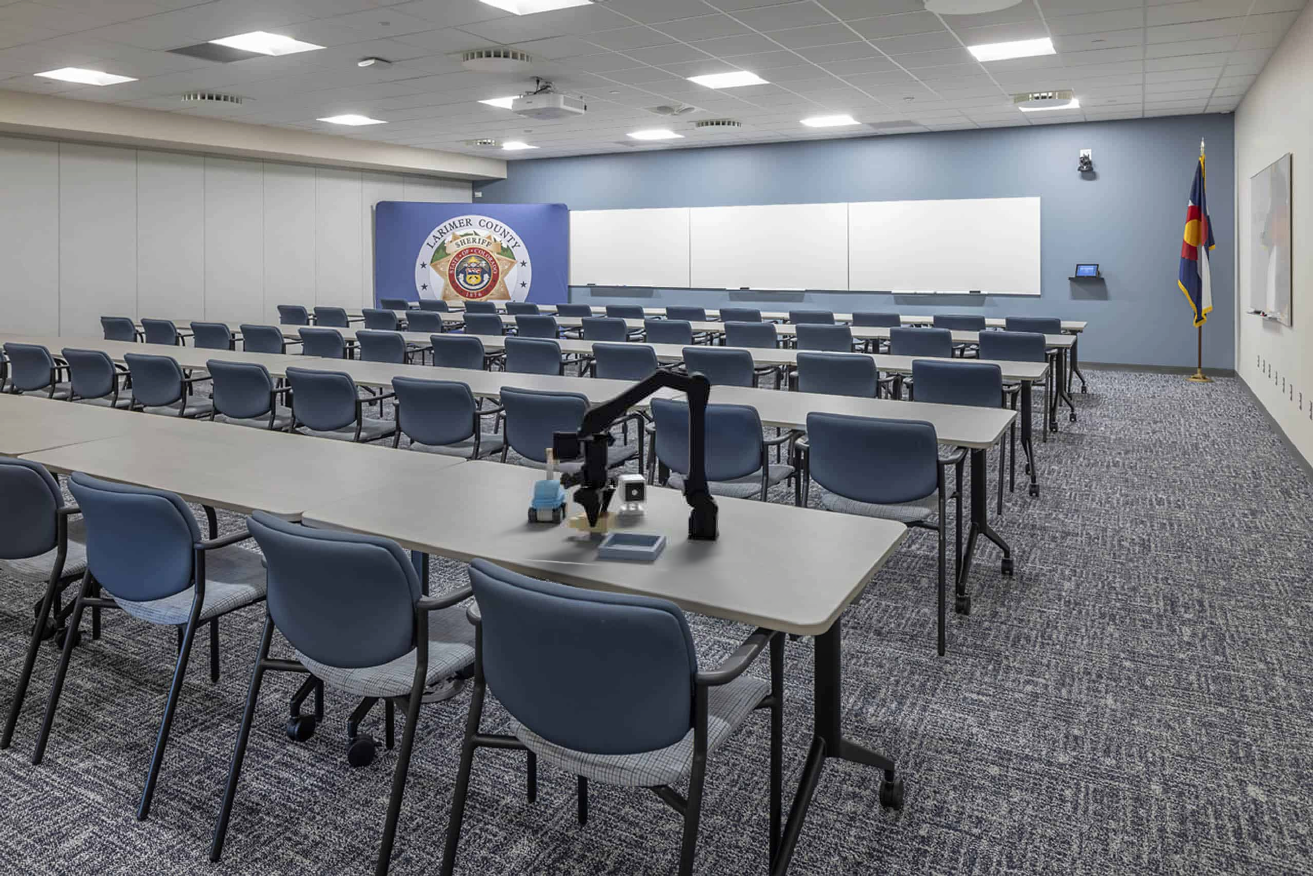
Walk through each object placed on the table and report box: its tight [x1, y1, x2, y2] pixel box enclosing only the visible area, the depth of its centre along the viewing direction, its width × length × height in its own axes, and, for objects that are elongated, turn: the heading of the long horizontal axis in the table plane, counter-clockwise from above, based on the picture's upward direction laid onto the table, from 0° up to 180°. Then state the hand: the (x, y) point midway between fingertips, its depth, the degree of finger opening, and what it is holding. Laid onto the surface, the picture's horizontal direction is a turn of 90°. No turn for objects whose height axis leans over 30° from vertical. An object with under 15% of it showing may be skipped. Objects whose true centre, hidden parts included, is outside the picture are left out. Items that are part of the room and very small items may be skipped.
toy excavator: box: [527, 447, 568, 524], centre depth 241 cm, size 9×17×17 cm, turn 174°
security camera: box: [618, 473, 648, 516], centre depth 245 cm, size 6×7×10 cm
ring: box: [569, 510, 616, 533], centre depth 224 cm, size 10×7×4 cm
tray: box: [596, 531, 667, 562], centre depth 213 cm, size 13×13×2 cm
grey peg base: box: [573, 530, 615, 543], centre depth 224 cm, size 9×9×4 cm
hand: (596, 523), depth 224 cm, fingers closed on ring, 7 cm apart
